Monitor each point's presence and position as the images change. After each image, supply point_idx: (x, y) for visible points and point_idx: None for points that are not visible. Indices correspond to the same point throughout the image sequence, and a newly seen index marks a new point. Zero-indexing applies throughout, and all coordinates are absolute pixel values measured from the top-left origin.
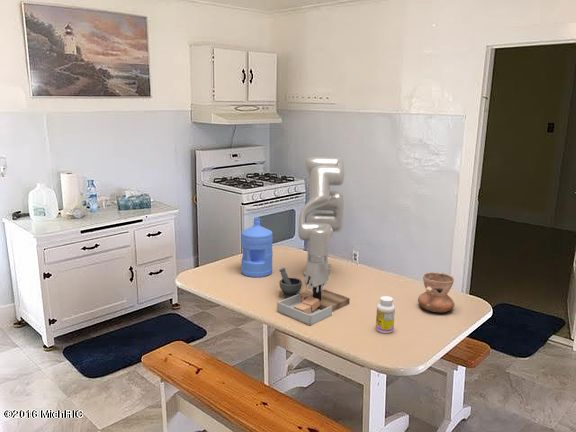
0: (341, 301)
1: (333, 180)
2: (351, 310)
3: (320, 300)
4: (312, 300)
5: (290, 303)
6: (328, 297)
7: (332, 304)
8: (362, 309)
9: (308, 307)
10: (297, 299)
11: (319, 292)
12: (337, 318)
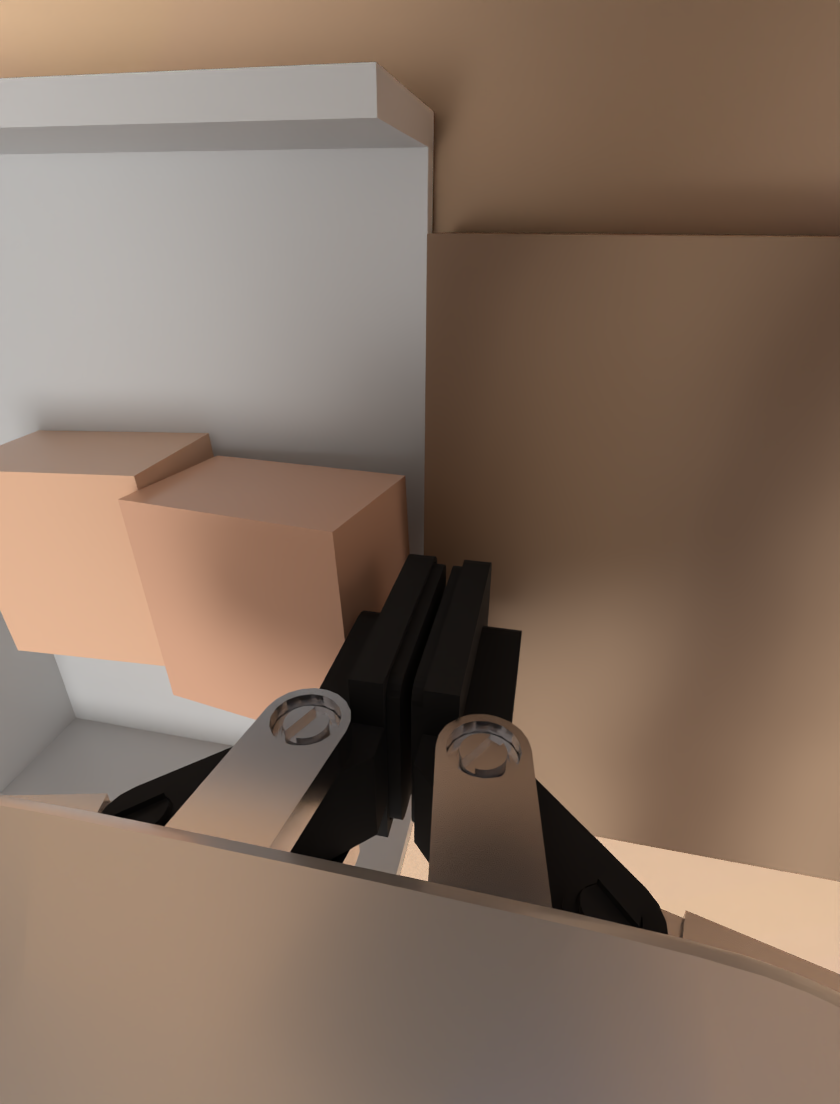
0: (769, 859)
1: None
2: (717, 888)
3: (577, 600)
4: (263, 655)
5: (110, 148)
6: (832, 641)
7: (563, 801)
8: (830, 962)
9: (127, 659)
10: (319, 136)
11: (377, 834)
12: (410, 841)
